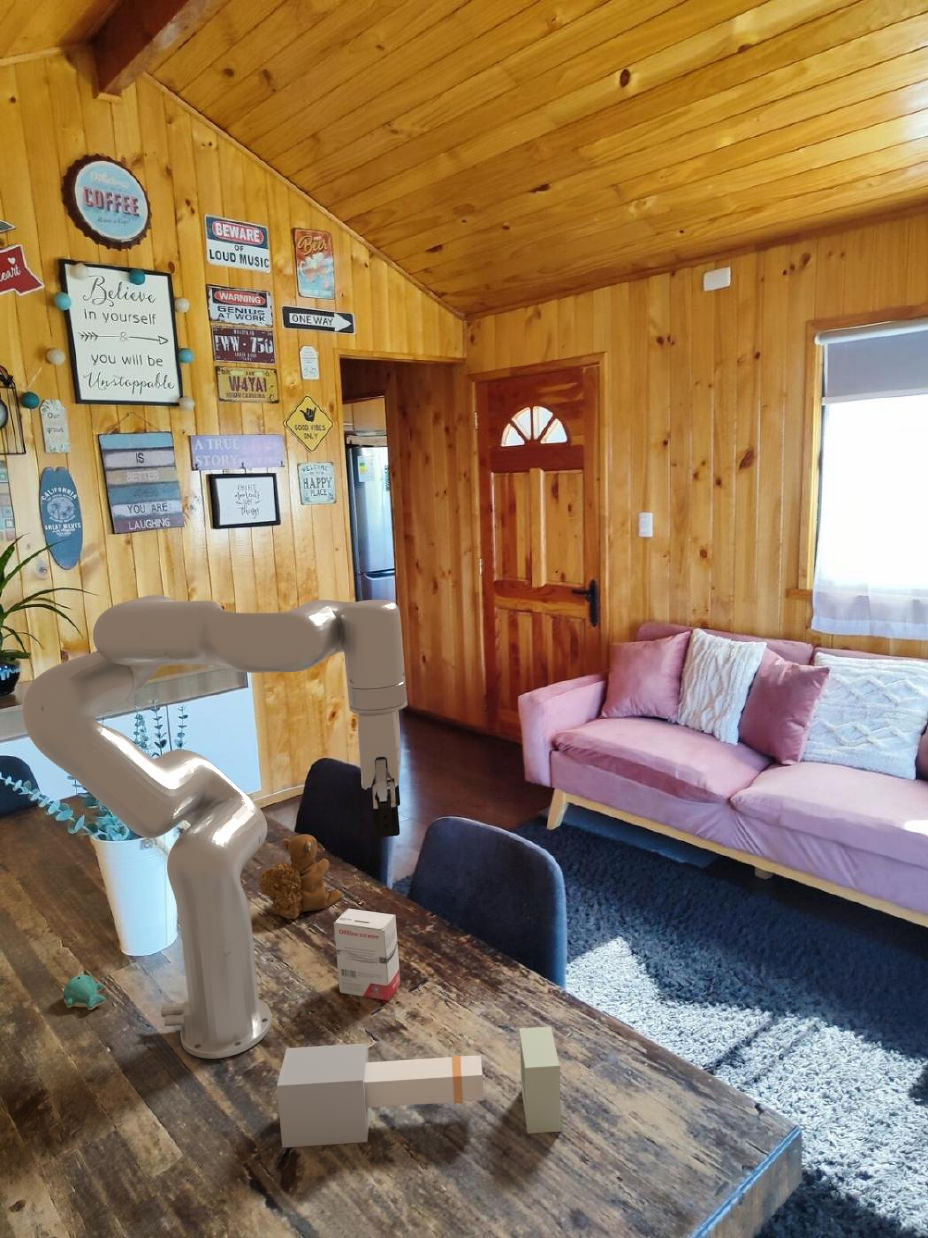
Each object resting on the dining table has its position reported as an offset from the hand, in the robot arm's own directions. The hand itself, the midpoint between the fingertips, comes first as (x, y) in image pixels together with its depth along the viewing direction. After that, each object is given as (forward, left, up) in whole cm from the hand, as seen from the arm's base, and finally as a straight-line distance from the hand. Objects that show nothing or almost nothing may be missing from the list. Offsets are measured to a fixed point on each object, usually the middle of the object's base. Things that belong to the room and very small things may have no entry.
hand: (388, 820), depth 109 cm
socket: (+18, -14, -33) cm, 40 cm away
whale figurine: (-49, +13, -33) cm, 61 cm away
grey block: (-8, -14, -33) cm, 37 cm away
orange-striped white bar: (-1, -14, -29) cm, 33 cm away
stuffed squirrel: (-20, +39, -33) cm, 55 cm away
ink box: (-5, +13, -33) cm, 36 cm away
